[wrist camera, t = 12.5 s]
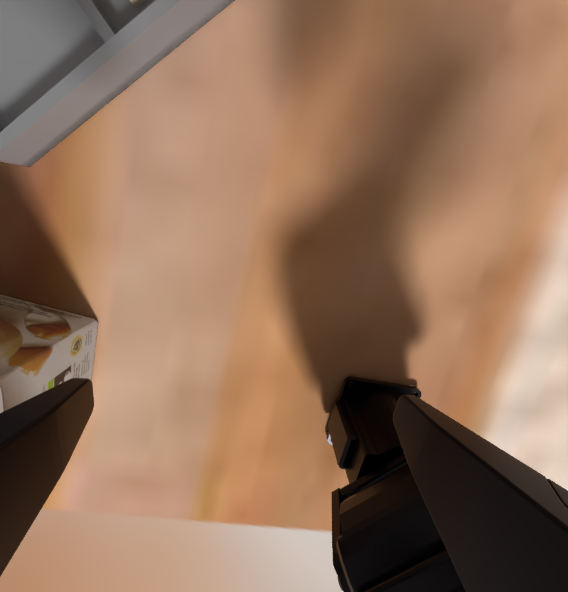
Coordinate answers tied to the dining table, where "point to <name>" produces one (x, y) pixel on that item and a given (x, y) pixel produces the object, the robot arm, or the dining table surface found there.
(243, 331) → the dining table surface
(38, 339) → the coffee box
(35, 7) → the parts bin
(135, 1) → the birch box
